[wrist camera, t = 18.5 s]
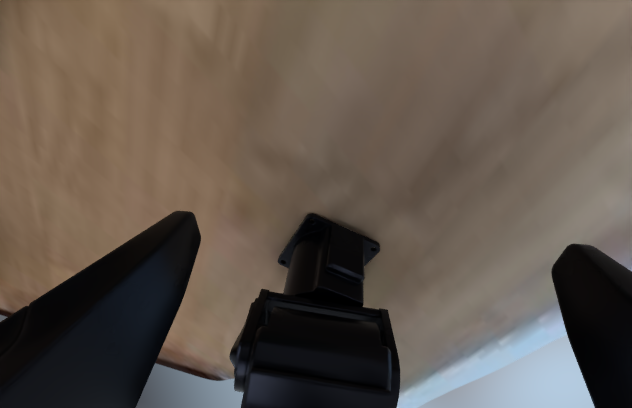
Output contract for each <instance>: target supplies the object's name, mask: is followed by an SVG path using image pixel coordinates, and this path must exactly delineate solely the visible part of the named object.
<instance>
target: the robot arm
mask: <svg viewBox="0 0 632 408" xmlns="http://www.w3.org/2000/svg"><path fill="white" fill-rule="evenodd" d="M311 219H312V220H314V221H311ZM200 242H201V235H200V231H199V228H198V225H197V221H196V218H195V215H194V214H193V213H192V212H187V211H175V212H173V213H172V214H170V215H168V216H167V217H165V218H164V219H162V220H161V221H159V222H157V223H156V224H154V225H153V226H151V227H150V228H148V229H146V230H145V231H143V232H142V233H140V234H139V235H137V236H135V237H134V238H132V239H131V240H129V241H128V242H126V243H124V244H123V245H121V246H120V247H118V248H116V249H115V250H113V251H112V252H110V253H109V254H107V255H105V256H104V257H102V258H101V259H99V260H98V261H96V262H94V263H93V264H91V265H90V266H88V267H87V268H85V269H83V270H82V271H80V272H79V273H77V274H76V275H74V276H72V277H71V278H69V279H68V280H66V281H64V282H63V283H61V284H60V285H58V286H57V287H55V288H53V289H52V290H50V291H49V292H47V293H46V294H44V295H42V296H41V297H39V298H38V299H36V300H34V301H33V302H31V303H30V304H29V306H25V307H23V308H22V309H20V310H19V311H17V312H15V313H14V314H12V315H11V316H9V317H8V318H6V319H5V320H3V321H1V322H0V408H135V407H136V405H137V403H138V401H139V398H140V396H141V394H142V391H143V389H144V387H145V385H146V382H147V380H148V377H149V375H150V373H151V371H152V368H153V366H154V364H155V362H156V359H157V357H158V355H159V353H160V350H161V348H162V346H163V343H164V341H165V339H166V336H167V334H168V332H169V330H170V327H171V325H172V323H173V320H174V318H175V316H176V314H177V311H178V309H179V307H180V304H181V302H182V299H183V297H184V294H185V291H186V288H187V285H188V282H189V278H190V275H191V272H192V269H193V265H194V262H195V259H196V256H197V252H198V249H199V246H200ZM372 247H375V248H372ZM379 251H380V245H379V243H377V242H376V241H373V240H371V239H369V238H367V237H365V236H362V235H360V234H358V233H356V232H353V231H351V230H349V229H347V228H345V227H342V226H340V225H338V224H336V223H334V222H331V221H329V220H327V219H325V218H323V217H320V216H318V215H316V214H308V215H307V216H306V217H305V219H304V220H303V222H302V223H301V225H300V226H299V228H298V229H297V231H296V232H295V234H294V235H293V236H292V238H291V239H290V241H289V242H288V244H287V245H286V247H285V248H284V250H283V251H282V253H281V254H280V256H279V259H278V263H279V264H280V265H282V266H285V267H287V268H289V270H288V274H287V279H286V283H285V288H284V293H283V294H281V293H275V292H269V290H265V289H261V292H260V294H259V297H258V298H256V299H255V302H253V303H251V306H250V310H249V313H248V316H247V319H246V322H245V325H244V327H243V329H242V331H241V333H240V334H239V336H238V338H237V340H236V342H235V343H234V345H233V347H232V349H231V352H230V360H231V362H232V364H233V366H234V367H235V369H234V376H235V383H234V389H235V391H239V392H244V394H243V399H242V404H241V408H396V407H397V403H398V398H399V389H400V365H399V358H398V353H397V348H396V344H395V340H394V335H393V331H392V327H391V322H390V318H389V314H388V310H386V309H380V308H379V310H378V309H372V308H366V307H362V306H363V280H364V266H365V265H366V264H367V263H368V262H369V261H370V260H371V259H372V258H373V257H374V256H375V255H376V254H377V253H378V252H379ZM552 279H553V283H554V287H555V290H556V294H557V298H558V302H559V306H560V310H561V313H562V317H563V321H564V325H565V328H566V332H567V335H568V338H569V341H570V344H571V347H572V349H573V352H574V354H575V357H576V359H577V362H578V365H579V367H580V370H581V372H582V375H583V378H584V380H585V383H586V386H587V388H588V391H589V393H590V396H591V399H592V401H593V404H594V406H595V408H632V272H631V271H630V270H628V269H627V268H625V267H624V266H622V265H621V264H619V263H618V262H616V261H615V260H613V259H612V258H610V257H609V256H607V255H606V254H604V253H603V252H601V251H600V250H598V249H597V248H595V247H593V246H591V245H584V244H571V245H569V246H567V247H566V249H565V250H564V251H563V253H562V254H561V255H560V257H559V258H558V260H557V261H556V262H555V264H554V265H553V267H552Z"/></svg>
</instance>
